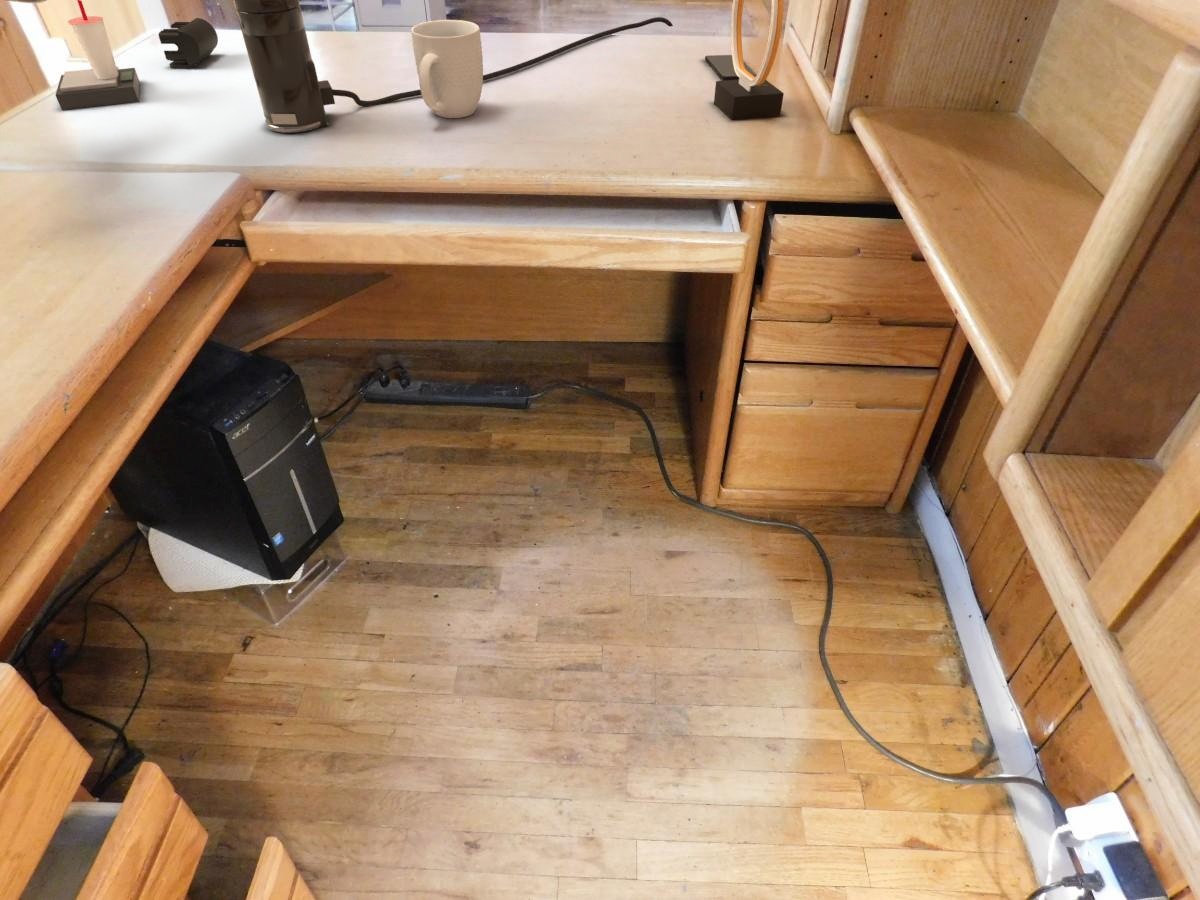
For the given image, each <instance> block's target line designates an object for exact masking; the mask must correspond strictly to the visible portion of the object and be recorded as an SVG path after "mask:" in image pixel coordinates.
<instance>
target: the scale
mask: <svg viewBox="0 0 1200 900" xmlns="http://www.w3.org/2000/svg"><path fill="white" fill-rule="evenodd" d="M116 68H117V72H118V76H117V77H115V78H112V79H98V78H97V76H96V75H95V73H94V71H93V69H92V68H89V69H79V70H70V71H64V73H63V74H61V76H60V78H59V82H58V84H57V87H56V88H57V89H56V92H55V98H56V101H57V102H58V104H59V107H60V109H61V111H67V110H75V109H83V108H84V109H85V108H95V107H103V106H112V105H120V104H121V105H122V104H128V103H139V101H140V84H141V82H140V79H139V75H138V73H137V70H136V68H135V67H129V68H128V67H127V68H119V66H116Z"/></svg>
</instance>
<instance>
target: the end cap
mask: <svg viewBox="0 0 1200 900" xmlns="http://www.w3.org/2000/svg"><path fill="white" fill-rule="evenodd" d="M158 38H159V41H160V44H161V45H175V46H176V47H177V50H164V51H163V53H164V56H165V59H166V60H167V61H170V63H169V68H171V69H191V68H192V69H193V68H194V67H196V66H197V65H198V64H200V63H201V62H202V61H203V60H205V59H206V58H207V57H209V56H210V55H211V54H212V53H213V52H214V50H215V49H216V48H217V46H218V43H219V42H218V41H219V37H218V34H217V31H216V28H214V26H213V25H212V24H211V23H210V22H209V21H207V20H205V19H203V18H201V17H195V18H194V19H193V20H191V21H175V22H174V23H171V25H170V28H163V30H160V31H159V32H158Z"/></svg>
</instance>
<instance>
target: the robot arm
mask: <svg viewBox="0 0 1200 900" xmlns="http://www.w3.org/2000/svg"><path fill="white" fill-rule="evenodd" d="M5 1H7V2H18V3H23V4H41V3H44V2H46V1H47V0H5ZM232 1H233V5H234V9H235V12H236V16H237V19H238V24H239V26H240V30H241V34H242V38H243V41H244V45H245V48H246V53H247V56H248V59H249V63H250V67H251V70H252V74H253V77H254V82H255V85H256V90H257V92H258V96H259V100H260V103H261V107H262V110H263V115H264V118H265V124H266V127H267V129H268V130H270V131H272V132H277V133H282V134H283V133H284V134H292V133H293V134H296V133H304V132H309V131H312V130H315V129H318V128H321V127H326V126H328V125H329V124H328V119H327V118H328V117H327V115H326V109H325V106H330V105H336V101H335V96H336V97H345V98H349V99H352V100H353V101H354V103H355V104H356V105H357V106H360V107H365V108H366V107H372V106H378V105H385V104H387V103H391V102H394V101H398V100H402V99H408V98H413V97H418V96H422V94H421V90H420V89H415V90H410V91H404V92H399V93H394V94H391V95H388V96H385V97H381V98H378V99H377V98H376V99H374V100H373V99H372V100H364V99H363V100H362V99H360V97H359V95H358V94H357V93H355V92H353V91H350V90H345V89H334V88H333V87H332V86H331V83H330V81H329V80H319V78H318V74H317V70H316V65H315V62H314V60H313V58H312V54H311V48H310V45H309V39H308V35H307V30H306V26H305V23H304V18H303V13H302V9H301V4H300V0H232ZM654 23H663V24H664V25H666V26H668V27H673V26H674V25H673V23H672V22H671V21H670V20H669V19H668V18H666V17H662V16H658V17H656V16H655V17H652V18H648V19H645V20H641V21H639V22H635V23H630V24H624V25H620V26H618V27H617V26H616V27H614V28H611V29H607V30H604V31H601V32H598V33H594V34H591V35H589V36H586V37H584V38H582V39H578V40H576V41H573V42H571V43H569V44H566V45H563V46H561V47H559V48H556V49H554V50H552V51H551V50H550V51H549V52H547V53H544V54H541V55H539V56H537V57H534V58H531V59H529V60H526V61H523V62H521V63H517V64H516V65H512V66H510V67H506V68H503V69H500V70H496V71H494V72H489V73H485V74H483V82H484V81H488V80H491V79H495V78H498V77H502V76H505V75H507V74H510V73H514V72H516V71H519V70H521V69H525V68H528V67H529V66H532V65H534V64H538V63H540V62H542V61H545V60H547V59H549V58H550V59H551V58H552V57H554V56H557V55H560V54H562V53H565V52H566V51H569V50H571V49H573V48H576V47H579V46H581V45H584V44H586V43H589V42H592V41H594V40H598V39H601V38H604V37H608V36H610V35H613V34H617V33H620V32H623V31H627V30H633V29H638V28H641V27H644V26H647V25H650V24H654Z"/></svg>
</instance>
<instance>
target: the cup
mask: <svg viewBox="0 0 1200 900" xmlns="http://www.w3.org/2000/svg"><path fill="white" fill-rule="evenodd" d="M77 4H78V7H79V10H80V13H81V16H80V17H75V18H71V19H69V20H68V21H67V23H68V24H69V26H70V28H71V30H72V32H73V34H74V36H75V38H76V40H77V41H78V44H79V46H80V48H81V50H82V51H83V54H84V55H85V57H86V60H87V62H88V64H89V66H90V67H91V69H93V71H94V73H95V75H96V76H97V78H98V79H112V78H115V77H117V76H118V72H117V68H116V67H117V64H116V61H115V57H114V53H113V51H112V46H111V42H110V40H109V37H108V33H107V29H106V26H105V23H104V17H102V16H98V15H96V16H94V15H88V16H87V12H86V10H85V6H84V4H83V1H82V0H77Z"/></svg>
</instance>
